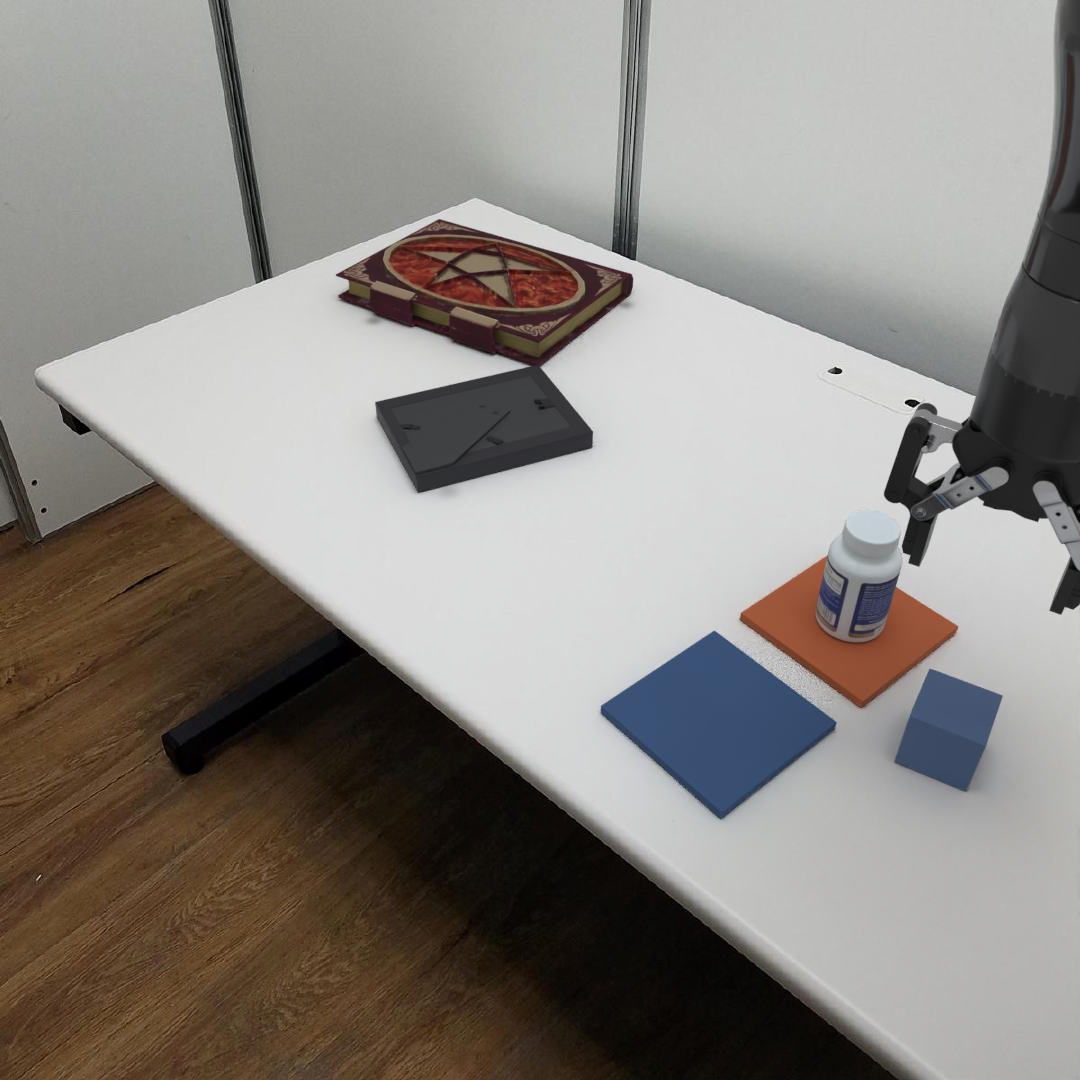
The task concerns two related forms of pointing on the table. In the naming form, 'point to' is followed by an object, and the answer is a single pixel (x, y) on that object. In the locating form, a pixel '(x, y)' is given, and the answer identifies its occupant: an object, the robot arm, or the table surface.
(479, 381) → the picture frame
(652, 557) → the table surface
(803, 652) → the terracotta mat
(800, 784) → the table surface
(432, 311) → the book
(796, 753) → the blue mat
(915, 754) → the blue block
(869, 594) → the pill bottle
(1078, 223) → the robot arm
